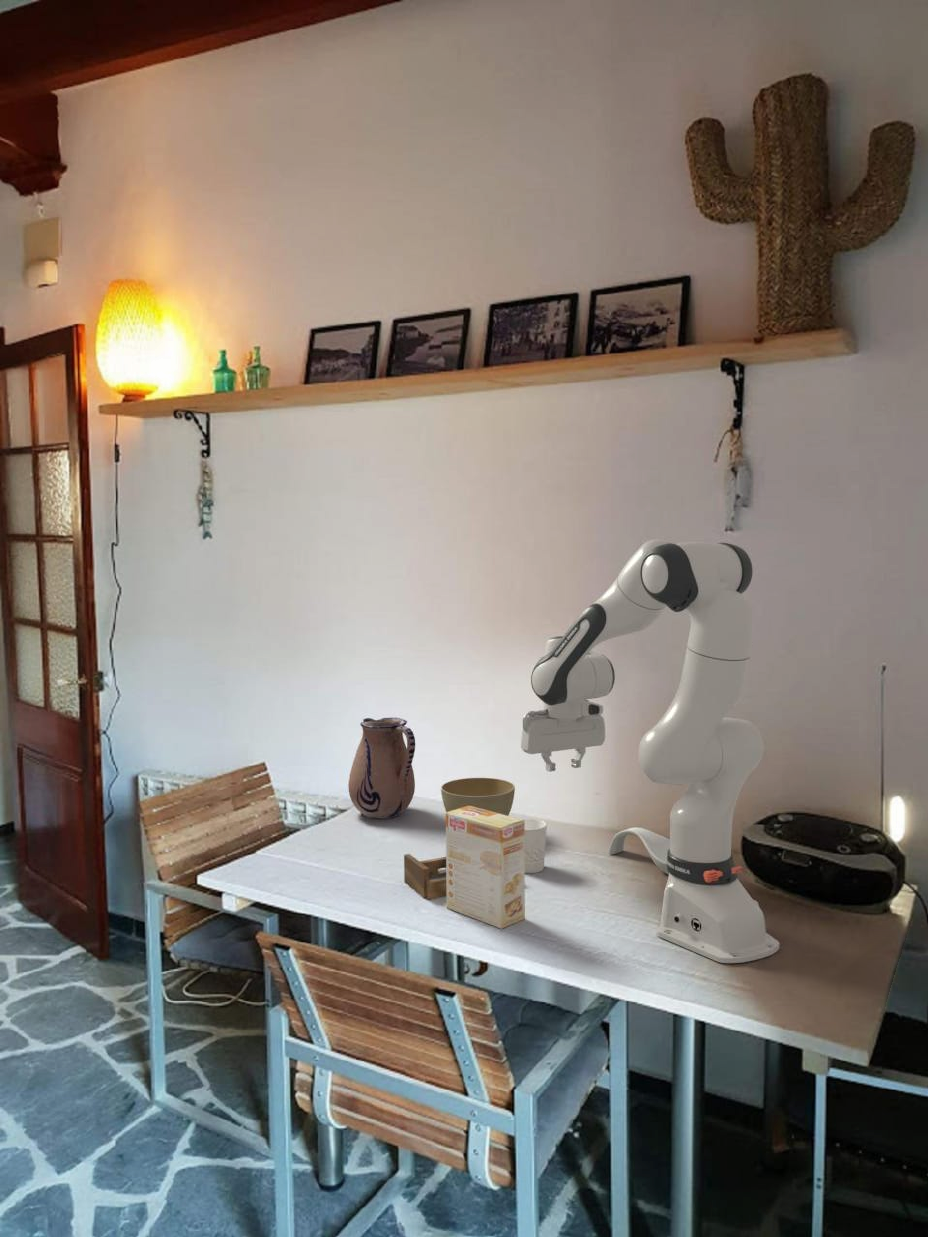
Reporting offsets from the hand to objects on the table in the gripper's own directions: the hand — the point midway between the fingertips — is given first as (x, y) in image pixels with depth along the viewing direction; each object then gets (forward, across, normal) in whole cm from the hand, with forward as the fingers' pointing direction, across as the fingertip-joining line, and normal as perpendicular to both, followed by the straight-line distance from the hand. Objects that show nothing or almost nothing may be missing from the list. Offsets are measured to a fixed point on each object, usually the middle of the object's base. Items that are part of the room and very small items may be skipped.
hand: (563, 769), depth 211 cm
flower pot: (+21, -8, +26) cm, 35 cm away
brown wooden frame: (+21, -26, 0) cm, 34 cm away
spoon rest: (+22, +17, -12) cm, 30 cm away
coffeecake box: (+21, -29, -18) cm, 40 cm away
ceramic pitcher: (+21, -22, +52) cm, 60 cm away
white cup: (+21, -9, 0) cm, 23 cm away
